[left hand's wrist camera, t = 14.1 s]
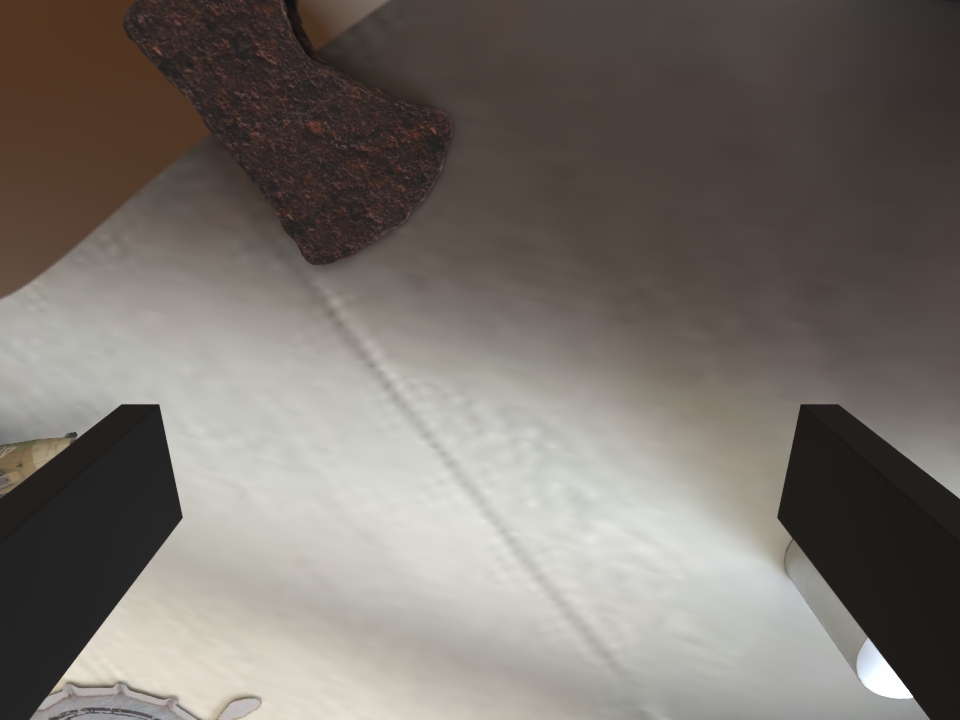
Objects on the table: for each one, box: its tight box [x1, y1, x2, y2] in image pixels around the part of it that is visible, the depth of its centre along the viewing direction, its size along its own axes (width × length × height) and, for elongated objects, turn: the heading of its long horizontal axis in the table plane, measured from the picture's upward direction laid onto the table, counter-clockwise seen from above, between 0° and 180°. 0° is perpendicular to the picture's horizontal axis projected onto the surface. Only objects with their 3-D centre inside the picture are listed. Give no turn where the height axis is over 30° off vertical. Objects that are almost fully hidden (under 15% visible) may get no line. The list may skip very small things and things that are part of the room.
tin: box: [785, 539, 913, 698], centre depth 47 cm, size 8×8×11 cm
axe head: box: [122, 0, 453, 265], centre depth 38 cm, size 18×8×15 cm
